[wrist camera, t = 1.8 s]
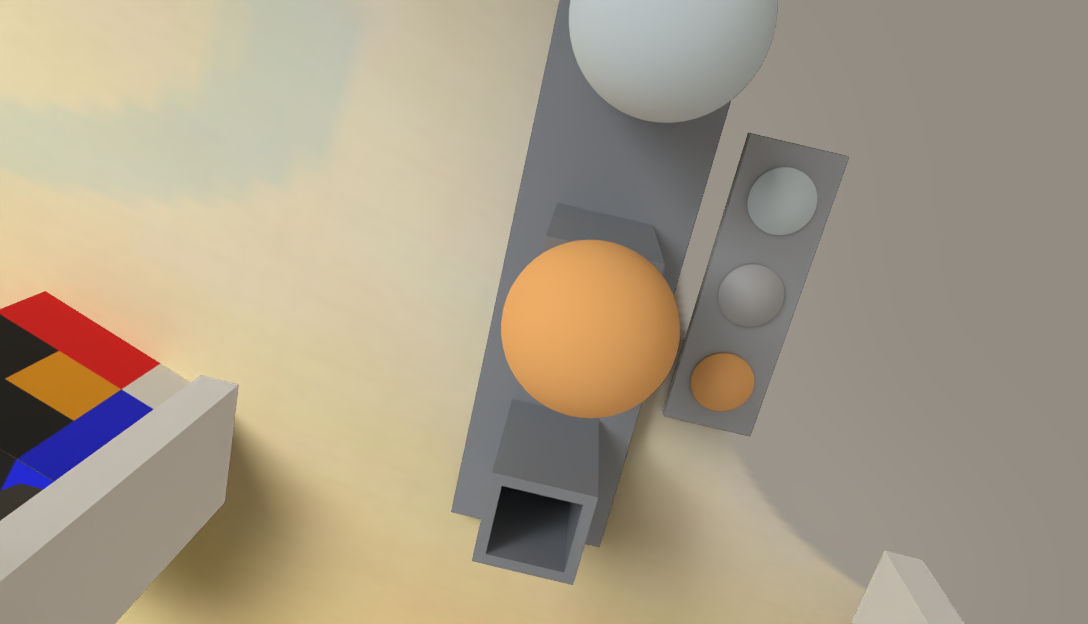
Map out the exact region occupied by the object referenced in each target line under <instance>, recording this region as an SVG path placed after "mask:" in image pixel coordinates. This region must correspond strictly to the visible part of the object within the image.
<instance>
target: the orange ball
mask: <svg viewBox="0 0 1088 624" xmlns="http://www.w3.org/2000/svg"><path fill="white" fill-rule="evenodd" d="M501 337H502V344H503V349H504V353H505V357H506V360H507V362H508V364H509V367H510V369H511V371H512V372H513V374H514V376H515V377H516V379H517V380H518V382H519V383H520V384H521V385H522V387H523V388H524V389H525V390H526V391H527V392H528V393H529V394H530V395H531V396H532V397H533V398H534V399H536V400H537V401H538V402H540V403H541V404H543V405H545V406H546V407H548V408H550V409H552V410H554V411H557V412H559V413H562V414H565V415H569V416H574V417H579V418H602V417H608V416H613V415H616V414H619V413H623V412H625V411H627V410H629V409H632V408H634V407H635V406H637V405H638V404H640V403H642V402H643V401H644V400H646V399H647V398H648V397H649V396H651V394H652V393H653V392H654V391H655V390H656V389H657V388H658V387H659V386H660V385H661V383H662V382H663V381H664V379H665V378H666V377H667V375H668V373H669V371H670V369H671V368H672V365H673V362H674V360H675V357H676V354H677V350H678V346H679V339H680V319H679V313H678V308H677V304H676V301H675V298H674V295H673V293H672V291H671V289H670V287H669V285H668V283H667V282H666V280H665V279H664V277H663V276H662V275H661V273H660V272H659V271H658V270H657V269H656V268H655V266H654V265H653V264H652V263H650V262H649V261H648V260H647V259H646V258H644V257H643V256H641V255H640V254H638V253H637V252H635V251H633V250H631V249H629V248H627V247H625V246H622V245H619V244H616V243H613V242H608V241H603V240H578V241H573V242H568V243H565V244H562V245H559V246H556V247H554V248H552V249H550V250H548V251H546V252H544V253H542V254H541V255H540V256H538V257H537V258H535V259H534V260H533V261H532V262H531V263H530V264H529V265H527V266H526V267H525V269H524V270H523V271H522V272H521V273H520V275H519V276H518V277H517V279H516V280H515V282H514V284H513V285H512V287H511V289H510V291H509V293H508V296H507V298H506V301H505V305H504V308H503V314H502V321H501Z"/></svg>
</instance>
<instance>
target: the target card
mask: <svg viewBox="0 0 1088 624" xmlns="http://www.w3.org/2000/svg"><path fill="white" fill-rule="evenodd" d="M848 160H849V157H848V156H844V155H841V154H837V153H832V152H828V151H823V150H819V149H815V148H811V147H807V146H803V145H798V144H794V143H790V142H786V141H781V140H777V139H773V138H769V137H764V136H760V135H756V134H752V133H748V135H747V138H746V142H745V145H744V148H743V151H742V154H741V158H740V161H739V164H738V167H737V171H736V174H735V177H734V181H733V184H732V187H731V190H730V194H729V197H728V200H727V203H726V206H725V210H724V213H723V216H722V220H721V223H720V226H719V229H718V233H717V236H716V239H715V242H714V246H713V249H712V252H711V255H710V259H709V262H708V265H707V268H706V272H705V275H704V278H703V282H702V285H701V288H700V291H699V294H698V298H697V301H696V304H695V307H694V311H693V314H692V317H691V321H690V324H689V327H688V330H687V334H686V337H685V340H684V343H683V347H682V350H681V353H680V356H679V360H678V363H677V366H676V369H675V373H674V376H673V379H672V382H671V386H670V389H669V392H668V396H667V399H666V402H665V405H664V409H663V415H664V416H665V417H670V418H674V419H678V420H682V421H687V422H691V423H695V424H699V425H703V426H708V427H712V428H716V429H720V430H725V431H729V432H733V433H737V434H742V435H746V436H751V433H752V430H753V427H754V424H755V421H756V419H757V416H758V413H759V410H760V408H761V404H762V402H763V399H764V396H765V393H766V391H767V388H768V385H769V382H770V379H771V376H772V374H773V371H774V368H775V365H776V362H777V360H778V357H779V354H780V351H781V348H782V346H783V343H784V340H785V337H786V334H787V331H788V329H789V326H790V323H791V320H792V317H793V315H794V311H795V309H796V306H797V303H798V300H799V298H800V295H801V292H802V289H803V286H804V284H805V281H806V278H807V275H808V272H809V269H810V266H811V264H812V261H813V258H814V255H815V253H816V249H817V247H818V244H819V241H820V238H821V235H822V233H823V230H824V227H825V224H826V221H827V218H828V216H829V213H830V210H831V207H832V205H833V202H834V199H835V196H836V193H837V190H838V188H839V185H840V182H841V179H842V176H843V174H844V171H845V168H846V165H847V162H848Z"/></svg>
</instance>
